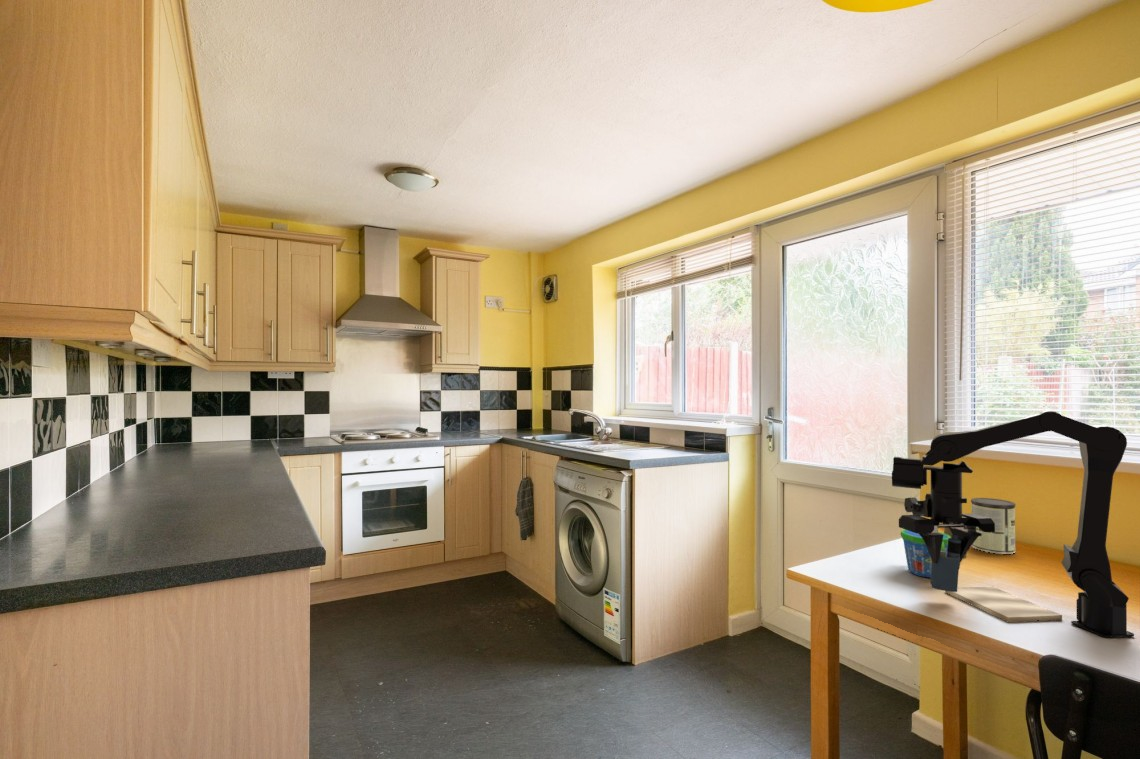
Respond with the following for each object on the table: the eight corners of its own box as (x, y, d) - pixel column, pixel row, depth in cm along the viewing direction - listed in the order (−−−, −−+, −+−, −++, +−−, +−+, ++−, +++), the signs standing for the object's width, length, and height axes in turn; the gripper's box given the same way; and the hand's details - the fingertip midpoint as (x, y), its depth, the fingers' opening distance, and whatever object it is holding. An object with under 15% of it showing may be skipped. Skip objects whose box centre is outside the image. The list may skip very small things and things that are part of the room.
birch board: (1062, 620, 111) (1062, 615, 111) (1008, 622, 110) (1008, 617, 110) (992, 590, 127) (992, 586, 127) (945, 592, 125) (945, 588, 125)
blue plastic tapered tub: (891, 562, 147) (891, 524, 147) (936, 566, 144) (936, 527, 144) (913, 583, 132) (913, 540, 132) (964, 587, 129) (963, 543, 129)
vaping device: (960, 593, 118) (964, 537, 118) (932, 589, 119) (937, 533, 120) (954, 589, 121) (958, 534, 121) (928, 585, 122) (932, 531, 122)
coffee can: (969, 542, 167) (969, 496, 167) (1012, 548, 161) (1012, 500, 162) (972, 551, 158) (972, 502, 158) (1018, 557, 153) (1018, 506, 153)
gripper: (955, 484, 129) (955, 550, 129) (881, 485, 127) (881, 552, 127) (997, 493, 118) (997, 566, 118) (917, 494, 116) (917, 568, 116)
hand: (946, 562), depth 120 cm, fingers closed on vaping device, 5 cm apart
